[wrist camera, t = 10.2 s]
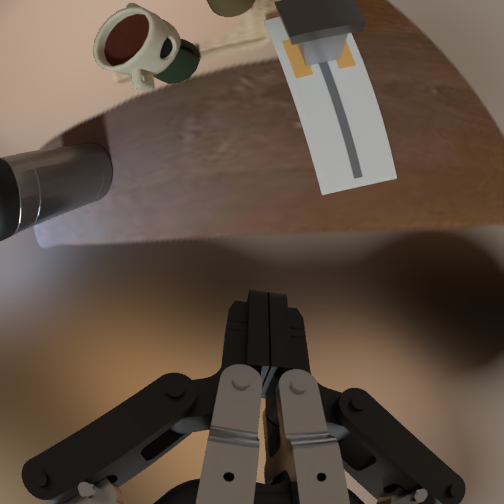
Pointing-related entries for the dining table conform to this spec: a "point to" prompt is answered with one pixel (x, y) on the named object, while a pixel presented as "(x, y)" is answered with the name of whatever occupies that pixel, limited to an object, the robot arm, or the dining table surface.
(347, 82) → the fader console
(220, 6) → the cork
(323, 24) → the fader knob
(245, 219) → the dining table surface
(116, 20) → the character mug
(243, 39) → the dining table surface
